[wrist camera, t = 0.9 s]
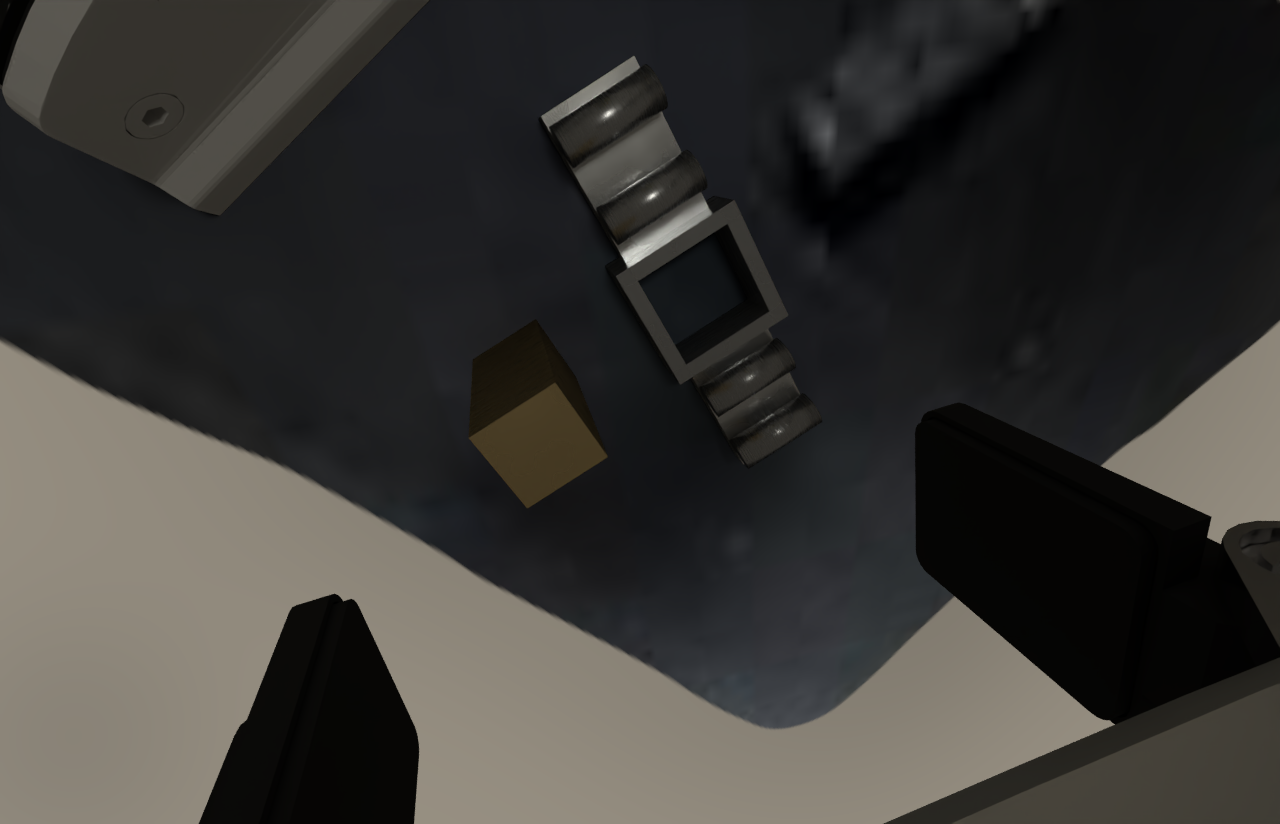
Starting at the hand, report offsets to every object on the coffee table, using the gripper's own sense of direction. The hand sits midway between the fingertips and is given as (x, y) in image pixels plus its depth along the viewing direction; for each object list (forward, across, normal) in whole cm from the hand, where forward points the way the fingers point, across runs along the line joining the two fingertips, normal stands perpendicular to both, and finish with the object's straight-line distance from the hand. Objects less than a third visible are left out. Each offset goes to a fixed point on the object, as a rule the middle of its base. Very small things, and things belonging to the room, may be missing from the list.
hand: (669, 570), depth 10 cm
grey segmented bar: (+25, -9, +1) cm, 26 cm away
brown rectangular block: (+25, +1, +4) cm, 25 cm away
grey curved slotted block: (+25, +7, -14) cm, 30 cm away
